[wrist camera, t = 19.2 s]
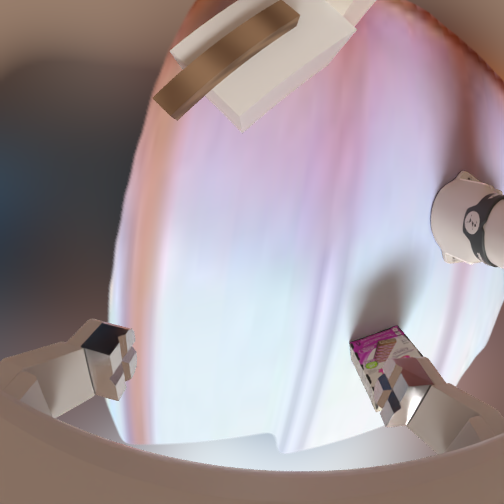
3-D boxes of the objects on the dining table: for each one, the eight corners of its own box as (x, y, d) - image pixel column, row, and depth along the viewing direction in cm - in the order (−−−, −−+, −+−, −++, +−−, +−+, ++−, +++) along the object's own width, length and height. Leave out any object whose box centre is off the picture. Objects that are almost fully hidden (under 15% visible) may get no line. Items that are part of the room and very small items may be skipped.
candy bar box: (397, 323, 53) (436, 369, 38) (398, 342, 55) (433, 389, 39) (347, 341, 54) (375, 395, 38) (350, 360, 56) (376, 414, 40)
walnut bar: (278, 11, 26) (280, -1, 23) (296, 26, 26) (300, 15, 23) (160, 103, 29) (152, 98, 26) (177, 120, 29) (170, 116, 26)
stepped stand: (324, -8, 36) (373, -103, 9) (371, 35, 38) (454, -40, 12) (192, 84, 41) (131, -3, 14) (242, 133, 44) (233, 82, 17)
